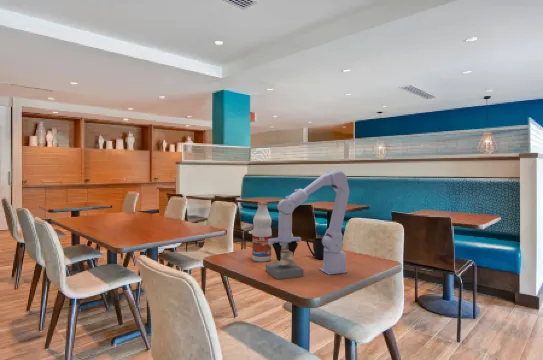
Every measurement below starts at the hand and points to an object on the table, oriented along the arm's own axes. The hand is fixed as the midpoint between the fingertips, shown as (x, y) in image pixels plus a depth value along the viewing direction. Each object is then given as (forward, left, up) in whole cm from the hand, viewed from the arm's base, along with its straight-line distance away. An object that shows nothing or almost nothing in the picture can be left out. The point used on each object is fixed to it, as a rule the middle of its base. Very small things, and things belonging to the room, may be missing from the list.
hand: (284, 259), depth 139 cm
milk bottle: (-8, -16, -6) cm, 19 cm away
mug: (-27, -18, -6) cm, 33 cm away
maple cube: (0, 0, -1) cm, 1 cm away
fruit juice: (+1, -24, -6) cm, 25 cm away
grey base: (0, 0, -6) cm, 6 cm away
